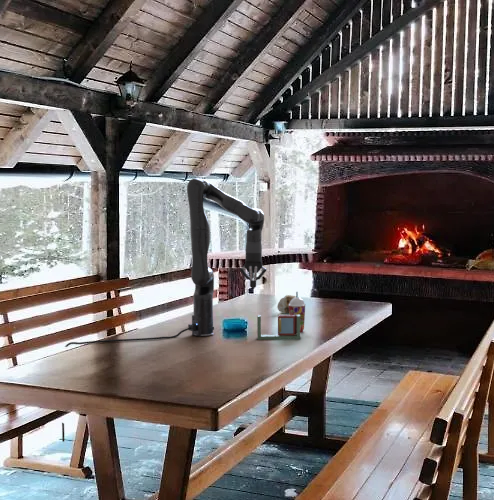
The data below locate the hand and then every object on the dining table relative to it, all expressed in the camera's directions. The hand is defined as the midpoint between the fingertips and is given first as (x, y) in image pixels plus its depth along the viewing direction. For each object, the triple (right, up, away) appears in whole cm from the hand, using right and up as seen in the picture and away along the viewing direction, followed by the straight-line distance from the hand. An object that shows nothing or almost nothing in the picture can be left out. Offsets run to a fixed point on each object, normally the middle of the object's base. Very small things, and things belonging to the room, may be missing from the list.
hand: (252, 288), depth 343 cm
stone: (+16, -18, +78) cm, 81 cm away
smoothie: (+20, -23, +19) cm, 36 cm away
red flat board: (+16, -22, 0) cm, 27 cm away
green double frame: (+12, -24, +2) cm, 27 cm away
